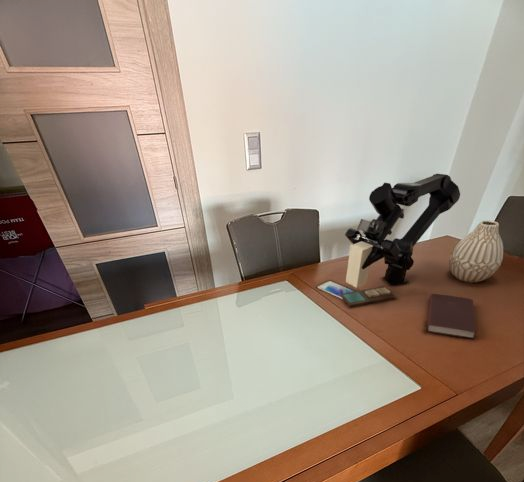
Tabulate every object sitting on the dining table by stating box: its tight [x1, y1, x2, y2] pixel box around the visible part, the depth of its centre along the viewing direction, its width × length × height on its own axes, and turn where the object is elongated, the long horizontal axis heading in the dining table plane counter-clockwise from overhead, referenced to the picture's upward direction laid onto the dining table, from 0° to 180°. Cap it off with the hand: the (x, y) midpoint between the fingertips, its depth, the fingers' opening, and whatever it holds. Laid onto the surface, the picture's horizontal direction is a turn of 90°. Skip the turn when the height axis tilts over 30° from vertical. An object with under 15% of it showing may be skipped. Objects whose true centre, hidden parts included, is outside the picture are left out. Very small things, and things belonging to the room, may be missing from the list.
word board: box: [340, 285, 396, 308], centre depth 108 cm, size 17×8×2 cm, turn 102°
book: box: [426, 293, 477, 339], centre depth 94 cm, size 12×19×3 cm, turn 155°
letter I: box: [345, 241, 373, 289], centre depth 99 cm, size 5×5×13 cm
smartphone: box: [317, 280, 356, 300], centre depth 113 cm, size 7×1×15 cm
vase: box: [448, 220, 505, 284], centre depth 108 cm, size 16×16×20 cm
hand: (356, 265), depth 99 cm, fingers closed on letter I, 5 cm apart
